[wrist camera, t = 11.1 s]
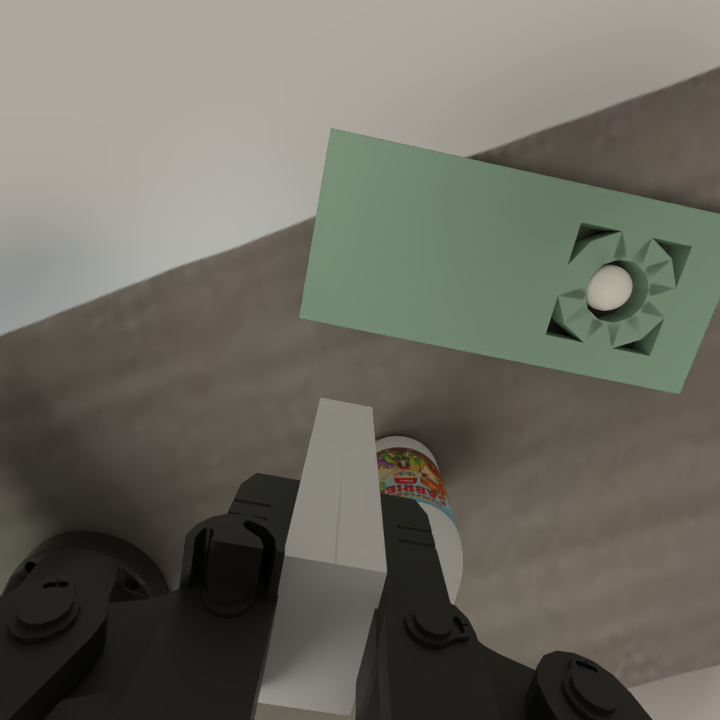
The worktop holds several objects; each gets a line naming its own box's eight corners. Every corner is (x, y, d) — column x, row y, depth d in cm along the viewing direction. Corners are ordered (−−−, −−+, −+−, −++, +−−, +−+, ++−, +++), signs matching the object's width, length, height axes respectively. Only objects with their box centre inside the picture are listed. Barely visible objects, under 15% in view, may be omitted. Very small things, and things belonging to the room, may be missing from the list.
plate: (303, 313, 38) (299, 317, 35) (333, 136, 34) (330, 128, 32) (660, 384, 39) (679, 394, 37) (725, 222, 36) (751, 220, 33)
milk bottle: (443, 497, 42) (511, 714, 23) (365, 513, 43) (366, 738, 24) (428, 425, 40) (487, 594, 21) (346, 442, 41) (330, 624, 22)
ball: (625, 316, 33) (622, 313, 37) (641, 269, 32) (636, 269, 36) (574, 306, 35) (575, 303, 38) (588, 259, 34) (588, 261, 37)
